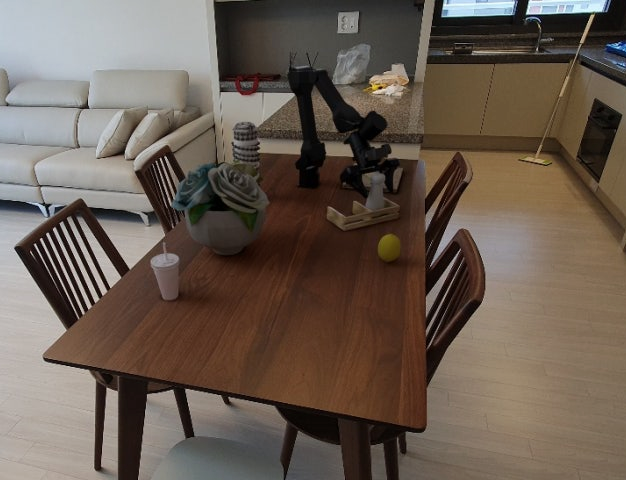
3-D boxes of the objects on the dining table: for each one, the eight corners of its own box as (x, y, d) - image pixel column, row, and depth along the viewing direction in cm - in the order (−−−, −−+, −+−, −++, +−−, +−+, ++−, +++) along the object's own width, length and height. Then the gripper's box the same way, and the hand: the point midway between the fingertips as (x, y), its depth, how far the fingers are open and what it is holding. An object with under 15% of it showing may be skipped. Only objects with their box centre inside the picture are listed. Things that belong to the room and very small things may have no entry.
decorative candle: (256, 205, 152) (254, 127, 139) (230, 202, 155) (225, 126, 141) (265, 195, 159) (263, 120, 146) (240, 192, 162) (236, 119, 148)
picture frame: (354, 167, 182) (342, 188, 163) (354, 163, 181) (342, 183, 162) (402, 171, 176) (396, 193, 158) (403, 167, 175) (396, 188, 157)
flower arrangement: (254, 278, 113) (250, 182, 100) (165, 262, 121) (151, 172, 108) (284, 235, 133) (285, 151, 119) (206, 224, 140) (199, 144, 127)
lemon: (399, 258, 120) (403, 230, 115) (397, 268, 115) (401, 240, 111) (377, 255, 121) (381, 228, 117) (374, 265, 117) (378, 237, 112)
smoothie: (171, 306, 104) (163, 251, 96) (150, 298, 107) (140, 245, 99) (189, 292, 108) (182, 239, 101) (169, 285, 111) (161, 233, 104)
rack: (326, 218, 142) (327, 206, 139) (378, 207, 148) (380, 195, 146) (344, 231, 134) (345, 218, 132) (398, 218, 141) (400, 205, 138)
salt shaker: (382, 211, 145) (387, 171, 138) (384, 218, 141) (389, 177, 134) (363, 210, 146) (367, 171, 139) (365, 218, 141) (369, 177, 134)
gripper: (347, 139, 130) (367, 188, 128) (400, 130, 136) (420, 177, 134) (331, 159, 140) (348, 205, 138) (381, 150, 147) (398, 194, 144)
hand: (379, 195), depth 138 cm, fingers open, 9 cm apart
